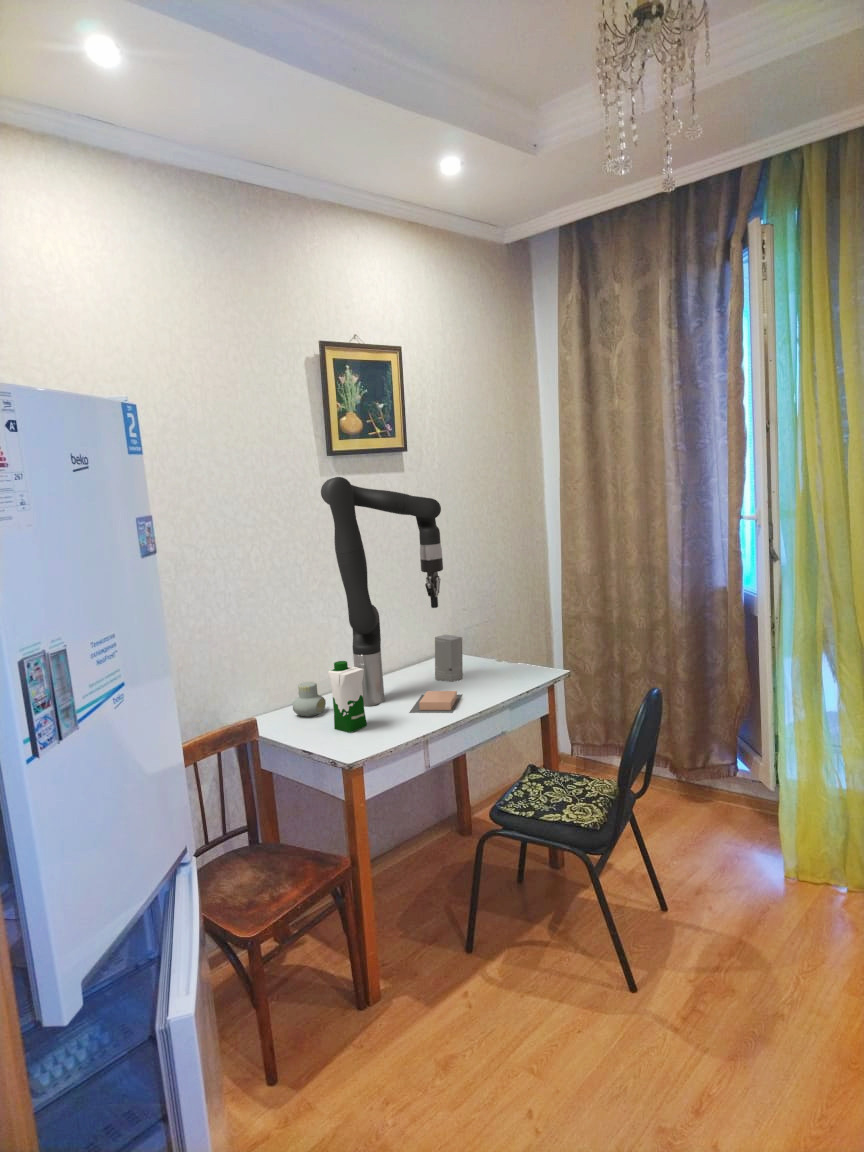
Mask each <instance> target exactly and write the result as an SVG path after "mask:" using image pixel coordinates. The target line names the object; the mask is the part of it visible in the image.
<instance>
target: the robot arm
mask: <svg viewBox="0 0 864 1152" xmlns="http://www.w3.org/2000/svg"><path fill="white" fill-rule="evenodd" d="M320 497H321V498H322V500H323V502H325V503H326V504H327V505H328V506H329V507H330V511H331V515H332V519H333V523H334V525H333V526H334V551H335V557H336V561H337V565H338V569H339V570H338V571H339V573H340V577H341V582H342V585H343V588H344V592H345V596H346V603H347V611H348V613H347V614H348V622H349V625H350V627H351V629H352V657H353V658H352V660H353V667H358V668H361V669H364V672H363V680H362V687H363V700H364V707H365V706H366V707H371V706H378V705H381V704H382V703H384V702H385V699H386V698H385V688H384V677H383V676H384V673H383V661H382V651H381V650H382V649H381V643H382V642H381V640H382V639H381V623H380V622H381V621H380V613H379V610H378V609H377V607H376V606H375V605H374V604H372V600H371V598H370V594H369V593H370V592H369V587H368V586H369V585H368V563H367V558H366V557H367V556H366V553H365V552H366V551H365V548H364V544H363V539H362V534H361V532H360V528H359V525H358V520H357V515H356V507H361V508H368V509H372V510H377V511H380V512H386V513H391V514H396V515H401V516H402V515H403V516H412V517H415V520H416V524H417V528H418V531H419V534H418V535H419V559H420V571H421V572H422V573H427V574H426V576H425V577H426V578H425V584H424V586H425V589H426V592H427V596H428V597H429V598H430V608H431V609H437V608H438V607H439V597H438V596H439V594H440V586H441V578H440V575H439V573H438V572H442V571H443V570H444V561H443V549H442V544H441V533H440V528H439V527H438V526H437V523H436V522H437V520H436V518H438V517H439V516H440V514H441V512H442V507H441V503H439V501H438V500H436V499H434V498H431V497H424V496H418V495H417V496H415V495H412V494H408V493H403V492H397V491H391V490H387V489H386V490H384V489H374V488H373V489H372V488H365V487H361V486H357V485H354V484H352V483H351V482H350V481H349V480H348V479H346V478H345V477H343V476H335V477H331V478H329V479H327V480H326V481H325V482H323V484H322V486H321V488H320Z"/></svg>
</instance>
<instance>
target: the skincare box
mask: <svg viewBox="0 0 864 1152" xmlns="http://www.w3.org/2000/svg"><path fill="white" fill-rule="evenodd" d="M463 674H464V673H463V637H462V636H457V635H453V634H452V635H450V634H442V635H438V636H435V637H434V679H435V680H436V681H440V682H450V683H453V682H457V680H458V681H460V680H462V678H464V677H463ZM459 679H460V680H459Z"/></svg>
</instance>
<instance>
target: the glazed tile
mask: <svg viewBox="0 0 864 1152" xmlns="http://www.w3.org/2000/svg"><path fill="white" fill-rule="evenodd" d="M423 695H424V696H423V698H422V699H421V701H420V702H419V707H420V710H451V709H452V707H453V705H454V703H455V702H456V700H457V695H458V691H457V690H427V691H426V692H425V693H424V694H423Z"/></svg>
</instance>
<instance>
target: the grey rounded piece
mask: <svg viewBox="0 0 864 1152" xmlns="http://www.w3.org/2000/svg"><path fill="white" fill-rule="evenodd" d="M297 688H298V697H296V698H295V699H294V701H293V702H292V711H293V712H294V713H295V714H296V715H299V716H301V717H314V716H318V715H319V714H321V713H322V712H323V711H324V710H325V707H326V699H325V697H324V696H322V695H319V693H318V683H316V682H315V681H305V682H304V681H303V682H301V683H299V684H298V687H297Z"/></svg>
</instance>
